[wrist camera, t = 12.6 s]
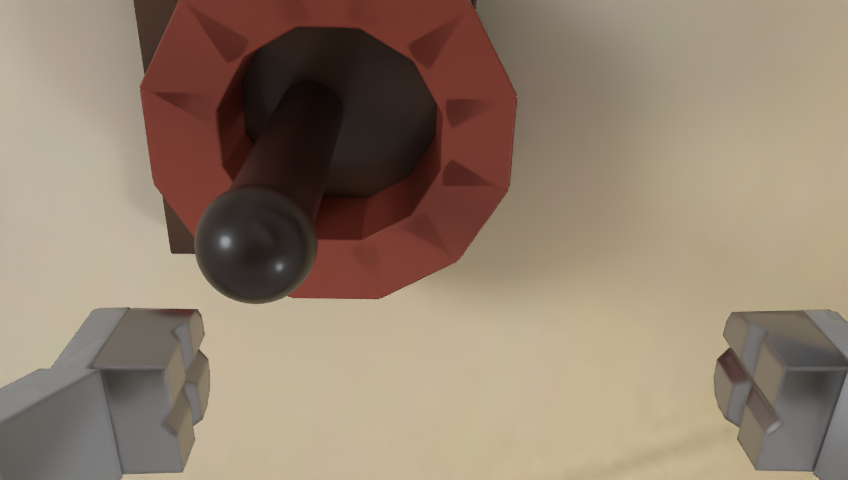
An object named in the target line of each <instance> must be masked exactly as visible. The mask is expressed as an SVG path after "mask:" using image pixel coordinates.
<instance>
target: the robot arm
mask: <svg viewBox="0 0 848 480" xmlns="http://www.w3.org/2000/svg"><path fill="white" fill-rule="evenodd" d="M204 335H205V332H204V326H203V320H202V315H201V314H200V312H199V311H198V309H157V308H132V309H131V308H129V307H127V308H98V309H94V310H93V311H92V312H91V313H90V314H89V316H88V317H87V318H86V320H85V321H84V323H83V324H82V325H81V327H80V328H79V329H78V331H77V332H76V334H75V335H74V336H73V338H72V339H71V340H70V342H69V343H68V345H67V346H66V347H65V349H64V350H63V352H62V353H61V354H60V356H59V357H58V358H57V360H56V361H55V363H54V364H53V365H52V367H51V368H50V369H38V370H36V371H34V372H32V373H30V374H28V375H26V376H24V377H22V378H20V379H18V380H16V381H14V382H12V383H10V384H8V385H6V386H4V387H2V388H0V480H120V479H121V478H122V474H145V473H178V472H183V471H184V468H185V465H186V463H187V460H188V457H189V455H190V452H191V449H192V447H193V444H194V441H195V436H194V429H193V426H194V425H196V424H197V423H198V422H200V421H201V420H203V417H204V414H205V411H206V408H207V404H208V398H209V391H210V370H209V362H208V358H207V357H206V356H205V355H204V354H203V353H202V352H201V351H200V350H199V347H200V344H201V342H202V340H203V337H204ZM723 336H724V338H725V340H726V341H727V343H728V345H729V346H730V348H728V349H727V350H726V351H725V352H724V353H723V354H722V355H721V356H720V357H719V358H718V359H717V363H716V368H715V373H714V391H715V397H716V400H717V404H718V407H719V409H720V411H721V412H722V414H723V416H724V418H725V419H726V420H728V421H730V422H731V423H733V424H734V425H736V426H738V427H739V428H740V429H739V433H738V437H737V440H738V441H739V443H740V445H741V446H742V448H743V450H744V451H745V453H746V455H747V456H748V458H749V460H750V461H751V463H752V465H753V466H754V468H755V470H766V471H809V472H814V473H813V474H814V475H815V476H816V477H818V478H819V479H820V480H848V323H847V322H846V321H845V320H844V319H843V318H842V317H841V316H840V315H839V314H838V313H837V312H834V311H832V310H829V309H824V310H797V311H754V312H732V313H731V314H730V316H729V318H728V319H727V321H726V325H725V329H724V333H723Z"/></svg>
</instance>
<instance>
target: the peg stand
mask: <svg viewBox="0 0 848 480" xmlns="http://www.w3.org/2000/svg"><path fill="white" fill-rule="evenodd" d="M178 1H179V0H134V6H135V13H136V20H137V27H138V34H139V40H140V47H141V54H142V61H143V67H144V74H146V71H147V69H148V67H149V65H150V63H151V60H152V58H153V56H154V54H155V52H156V49H157V47H158V45H159V43H160V41H161V38H162V36H163V34H164V32H165V30H166V27H167V25H168V23H169V21H170V19H171V16H172V14H173V12H174V10H175V8H176V5H177V3H178ZM470 1H471V3H472V5H473V7H474V9H475V11H476V0H470ZM241 88H242V100H243V113H244V125H245V132H246V133H247V135H248V136H249V138H250V139H251V141H252V142H253V144H254V146H253V148H252V150H251V152H250V153H249V155H248V157H247V159H246V160H245V162H244V164H243V166H242V167H241V169H240V171H239V172H238V174H237V176H236V178H235V179H234V181H233V183H232V185H231V186H230V188H229V190H227V191H226V192H224V193H223V194H221V195H219V196H218V197H217V198H216V199H214V200H213V201H212V202H211V203H210V205H209V206H208V207H207V208H206V209H205V211H204V212H203V214H202V216H201V218H200V220H199V223H198V225H197V228H196V232H195V238H194V236H193V235H192V234H191V232H190V231H189V230H188V228H187V227H186V226H185V224H184V223H183V222H182V220H181V219H180V218H179V217H178V215H177V214H176V213H175V211H174V210H173V209H172V207H171V206H170V205H169V203H168V202H167V201H166V199H165V198H164V197H163V202H164V209H165V216H166V223H167V229H168V236H169V243H170V250H171V253H172V254H195V255H196V260H197V263H198V266H199V268H200V270H201V272H202V274H203V275H204V277H205V278H206V280H207V281H208V282H209V283H210V284H211V285H212V286H213V287H214V288H215V289H216V290H217V291H219V292H220V293H221V294H223V295H225V296H227V297H228V298H231V299H233V300H236V301H239V302H243V303H249V304H263V303H269V302H273V301H276V300H279V299H281V298H284V297H286V296H287V295H289V294H291V293H292V292H293V291H295V290H296V289H297V288H298V287H299V286H300V285H301V284H302V283H303V282H304V281H305V279H306V278H307V277H308V275H309V274H310V272H311V270H312V268H313V265H314V262H315V259H316V255H317V247H318V240H317V232H316V228H315V221H316V217H317V214H318V210H319V206H320V202H321V199H322V197H329V198H369V197H371V196H372V195H374V194H376V193H378V192H380V191H382V190H384V189H386V188H388V187H390V186H392V185H394V184H396V183H398V182H400V181H402V180H404V179H406V178H407V177H409V176H410V175H411V174H412V172H413V170H414V169H415V167H416V166H417V164H418V163H419V161H420V160H421V158H422V157H423V155H424V153H425V152H426V150H427V149H428V147H429V146H430V144H431V143H432V141H433V140H434V138H435V136H436V121H437V104H436V102H435V100H434V98H433V96H432V95H431V93H430V91H429V89H428V87H427V85H426V84H425V82H424V80H423V78H422V76H421V74H420V73H419V71H418V69H417V67H416V65H415V63H414V62H413V61H412V60H410V59H409V58H407V57H405V56H404V55H402V54H400V53H399V52H397V51H396V50H394V49H392V48H391V47H389V46H387V45H386V44H384V43H383V42H381V41H379V40H378V39H376V38H374V37H373V36H371V35H369V34H368V33H366V32H365V31H363V30H361V29H360V28H327V27H296V28H294V29H292V30H290V31H289V32H287V33H285V34H283V35H282V36H280V37H278V38H277V39H275V40H273V41H271V42H270V43H268V44H266V45H264V46H263V47H261V48H259V49H258V50H257V51H256V53H255V55H254V57H253V59H252V61H251V63H250V64H249V66H248V68H247V70H246V72H245V74H244V76H243V78H242V80H241ZM162 196H163V195H162ZM463 255H464V253H463ZM463 255H462V256H463Z"/></svg>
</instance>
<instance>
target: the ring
mask: <svg viewBox="0 0 848 480" xmlns="http://www.w3.org/2000/svg"><path fill="white" fill-rule="evenodd" d="M296 27H327V28H360V29H361V30H363V31H365V32H366V33H368V34H369V35H371V36H373V37H374V38H376V39H378V40H379V41H381V42H383V43H384V44H386V45H387V46H389V47H391V48H392V49H394V50H396V51H397V52H399V53H400V54H402V55H404V56H405V57H407V58H409V59H410V60H412V61H413V62H414V63H415V65H416V67H417V69H418V71H419V73H420V74H421V76H422V78H423V80H424V82H425V84H426V85H427V87H428V89H429V91H430V93H431V95H432V96H433V98H434V100H435V102H436V104H437V121H436V136H435V138H434V140H433V141H432V143H431V144H430V146H429V147H428V149H427V150H426V152H425V153H424V155H423V157H422V158H421V160H420V161H419V163H418V164H417V166H416V167H415V169H414V170H413V172H412V174H411V175H410V176H409V177H407V178H406V179H404V180H402V181H400V182H398V183H396V184H394V185H392V186H390V187H388V188H386V189H384V190H382V191H380V192H378V193H376V194H374V195H372V196H371V197H369V198H329V197H322V199H321V202H320V206H319V210H318V214H317V217H316V221H315V228H316V232H317V240H318V247H317V255H316V259H315V262H314V265H313V268H312V270H311V272H310V274H309V275H308V277H307V278H306V279H305V281H304V282H303V283H302V284H301V285H300V286H299V287H298V288H297V289H296V290H295V291H293V292H292V293H291V294H289V295H287V296H289V297H292V298H336V299H379V298H383V297H385V296H387V295H389V294H391V293H393V292H395V291H397V290H399V289H401V288H403V287H405V286H407V285H409V284H412V283H414V282H416V281H418V280H420V279H422V278H424V277H426V276H428V275H430V274H432V273H434V272H436V271H438V270H441V269H443V268H445V267H447V266H449V265H451V264H453V263H455V262H457V260H459V259H460V258H461V256H462V255H463V253H464V252H465V251H466V249H467V248H468V246H469V245H470V244H471V242H472V241H473V239H474V238H475V237H476V235H477V234H478V232H479V231H480V230H481V228H482V227H483V225H484V224H485V223H486V221H487V220H488V218H489V217H490V216H491V214H492V213H493V211H494V210H495V209H496V207H497V206H498V204H499V203H500V202H501V200H502V199H503V197H504V196H505V195H506V193H507V192H508V188H509V186H510V176H511V164H512V152H513V141H514V129H515V118H516V106H517V98H516V96H517V95H516V92H515V90H514V88H513V86H512V84H511V82H510V80H509V78H508V76H507V74H506V72H505V70H504V68H503V66H502V64H501V62H500V60H499V57H498V55H497V53H496V51H495V49H494V47H493V45H492V43H491V41H490V39H489V37H488V35H487V33H486V31H485V29H484V27H483V25H482V23H481V21H480V19H479V17H478V15H477V13H476V11H475V9H474V7H473V5H472V3H471V1H470V0H179V1H178V3H177V5H176V8H175V10H174V12H173V14H172V16H171V19H170V21H169V23H168V25H167V27H166V30H165V32H164V34H163V36H162V38H161V41H160V43H159V45H158V47H157V49H156V52H155V54H154V56H153V58H152V60H151V63H150V65H149V67H148V69H147V71H146V74H145V76H144V78H143V80H142V82H141V85H140V88H141V89H140V93H141V100H142V107H143V114H144V121H145V128H146V135H147V142H148V149H149V156H150V163H151V170H152V177H153V181H154V185H155V186H156V188H157V189H158V190H159V191H160V193H161V194H162V195H163V197H164V198H165V199H166V201H167V202H168V203H169V205H170V206H171V207H172V209H173V210H174V211H175V213H176V214H177V215H178V217H179V218H180V219H181V220H182V222H183V223H184V224H185V226H186V227H187V228H188V230H189V231H190V232H191V234H192V235H193V236H194V238H195V232H196V228H197V225H198V223H199V220H200V218H201V216H202V214H203V212H204V211H205V209H206V208H207V207H208V206H209V205H210V203H211V202H212V201H213V200H214V199H216V198H217V197H218V196H219V195H221V194H223V193H224V192H226V191H227V190H229V188H230V186H231V185H232V183H233V181H234V179H235V178H236V176H237V174H238V172H239V171H240V169H241V167H242V166H243V164H244V162H245V160H246V159H247V157H248V155H249V153H250V152H251V150H252V148H253V146H254V144H253V142H252V141H251V139H250V138H249V136H248V135H247V133H246V132H245V125H244V113H243V100H242V88H241V80H242V78H243V76H244V74H245V72H246V70H247V68H248V66H249V64H250V63H251V61H252V59H253V57H254V55H255V53H256V51H257V50H258V49H259V48H261V47H263V46H264V45H266V44H268V43H270V42H271V41H273V40H275V39H277V38H278V37H280V36H282V35H283V34H285V33H287V32H289V31H290V30H292V29H294V28H296Z"/></svg>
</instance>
